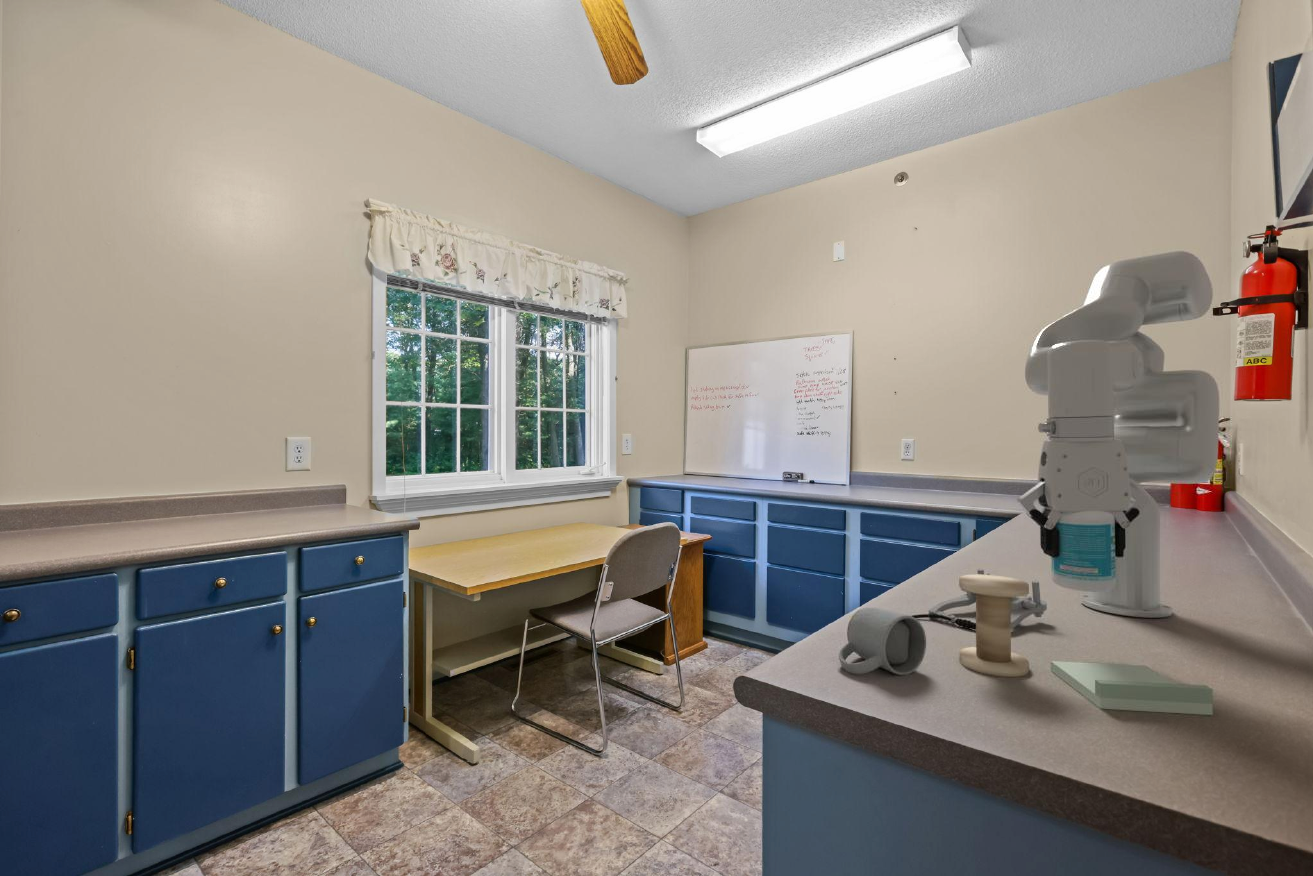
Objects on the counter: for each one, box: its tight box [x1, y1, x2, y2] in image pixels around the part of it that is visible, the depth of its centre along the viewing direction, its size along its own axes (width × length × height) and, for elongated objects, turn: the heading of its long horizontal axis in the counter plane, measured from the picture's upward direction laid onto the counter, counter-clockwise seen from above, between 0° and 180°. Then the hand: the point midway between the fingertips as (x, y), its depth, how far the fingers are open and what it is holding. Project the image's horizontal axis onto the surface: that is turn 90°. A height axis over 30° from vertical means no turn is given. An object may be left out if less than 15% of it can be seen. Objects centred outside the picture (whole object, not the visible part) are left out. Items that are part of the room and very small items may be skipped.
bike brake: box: [911, 568, 1048, 631], centre depth 98 cm, size 14×7×20 cm
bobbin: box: [958, 573, 1030, 678], centre depth 79 cm, size 8×8×11 cm
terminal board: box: [1050, 660, 1214, 716], centre depth 71 cm, size 11×11×3 cm
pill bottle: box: [1050, 511, 1116, 593], centre depth 85 cm, size 8×7×14 cm
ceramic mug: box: [838, 607, 927, 676], centre depth 79 cm, size 10×8×7 cm
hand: (1082, 554), depth 85 cm, fingers closed on pill bottle, 7 cm apart
